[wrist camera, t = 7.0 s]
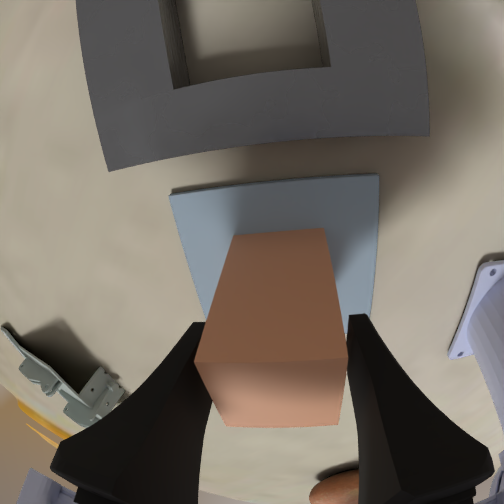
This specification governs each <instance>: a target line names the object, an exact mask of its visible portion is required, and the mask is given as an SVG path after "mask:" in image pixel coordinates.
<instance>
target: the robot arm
mask: <svg viewBox="0 0 504 504" xmlns="http://www.w3.org/2000/svg"><path fill="white" fill-rule="evenodd" d="M491 270H492V271H491ZM490 271H491V272H490ZM205 323H206V322H193V323H192V324H191V326H190V327H189V328H188V330H187V331H186V332H185V333H184V335H183V336H182V337H181V339H180V340H179V341H178V343H177V344H176V345H175V346H174V348H173V349H172V350H171V351H170V353H169V354H168V355H167V356H166V358H165V359H164V360H163V361H162V363H161V364H160V365H159V366H158V367H157V368H156V369H155V371H154V372H153V373H152V374H151V375H150V376H149V377H148V378H147V379H146V381H145V382H144V383H143V384H142V385H141V386H140V387H139V388H138V389H137V390H136V391H135V392H134V393H132V394H131V395H130V396H129V397H128V398H127V399H126V400H125V401H124V402H122V403H121V404H120V405H119V406H117V407H116V408H115V409H114V410H112V411H111V412H110V413H108V414H107V415H106V416H104V417H103V418H102V419H100V420H99V421H97V422H96V423H94V424H92V425H91V426H89V427H88V428H86V429H84V430H83V431H81V432H79V433H77V434H75V435H73V436H71V437H69V438H67V439H65V440H63V441H61V442H60V444H59V446H58V449H57V451H56V454H55V456H54V458H53V461H52V463H51V466H50V469H51V471H53V472H54V473H56V474H57V475H59V476H60V477H62V478H64V479H65V480H67V481H69V482H70V483H72V484H74V485H76V486H78V489H77V492H76V493H75V492H73V491H71V490H69V489H67V488H65V487H63V486H61V485H60V484H59V483H57V482H55V481H54V480H52V479H50V478H48V477H47V476H44V475H43V474H41V473H39V472H38V471H36V470H34V469H33V468H30V469H29V472H28V474H27V477H26V479H25V482H24V484H23V487H22V490H21V493H20V495H19V498H18V500H17V503H16V504H198V488H199V474H200V464H201V455H202V447H203V439H204V434H205V429H206V424H207V421H208V417H209V413H210V409H211V405H212V401H213V400H212V398H211V396H210V394H209V392H208V390H207V388H206V386H205V384H204V382H203V380H202V378H201V376H200V374H199V372H198V370H197V368H196V365H195V363H194V360H195V356H196V353H197V350H198V346H199V343H200V340H201V336H202V333H203V330H204V326H205ZM346 345H347V352H348V364H347V375H348V380H349V386H350V391H351V396H352V402H353V407H354V413H355V418H356V424H357V432H358V451H359V496H358V504H474V503H473V497H474V496H475V495H476V489H475V486H477V485H478V484H480V483H482V482H483V481H485V480H486V479H488V478H489V477H491V476H492V475H493V473H494V472H495V470H494V466H493V461H492V457H491V455H490V452H489V450H488V447H486V446H485V445H483V444H482V443H480V442H479V441H477V440H476V439H474V438H473V437H472V436H470V435H469V434H467V433H466V432H465V431H464V430H462V429H461V428H460V427H459V426H457V425H456V424H455V423H454V422H453V421H451V420H450V419H449V418H448V417H447V416H446V415H445V414H444V413H443V412H441V411H440V410H439V409H438V408H437V407H436V406H435V405H434V404H433V403H432V402H431V401H430V400H429V399H428V398H427V397H426V396H425V395H424V394H423V392H422V391H421V390H420V389H419V388H418V387H417V386H416V385H415V383H414V382H413V381H412V380H411V379H410V377H409V376H408V375H407V374H406V372H405V371H404V370H403V369H402V367H401V366H400V365H399V363H398V362H397V361H396V359H395V358H394V356H393V355H392V353H391V352H390V351H389V349H388V348H387V346H386V345H385V343H384V342H383V340H382V339H381V337H380V336H379V334H378V332H377V331H376V329H375V327H374V326H373V324H372V322H371V321H370V319H369V317H368V315H367V314H365V313H363V314H352V315H349V318H348V330H347V340H346ZM447 355H448V358H449V359H450V360H453V359H457V358H462V357H466V356H470V355H475V358H476V360H477V362H478V364H479V367H480V369H481V372H482V374H483V376H484V379H485V381H486V384H487V386H488V389H489V392H490V394H491V397H492V400H493V403H494V405H495V408H496V411H497V414H498V417H499V420H500V423H501V427H502V430H503V433H504V260H500V261H492V262H486V263H483V264H482V265H481V266H480V267H479V269H478V272H477V275H476V278H475V282H474V285H473V288H472V291H471V294H470V297H469V300H468V303H467V306H466V309H465V311H464V314H463V317H462V320H461V322H460V325H459V327H458V330H457V332H456V335H455V337H454V340H453V342H452V344H451V347H450V349H449V351H448V354H447ZM499 458H500V462H501V466H500V468H499V469H498V471H497V472H496V474H495V476H494V479H493V481H492V485H491V488H490V494H489V498H487V499H484V500H482V501H480V502H478V503H475V504H504V450H503V451H502V452H501V453H499Z"/></svg>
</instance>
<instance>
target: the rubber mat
mask: <svg viewBox="0 0 504 504" xmlns="http://www.w3.org/2000/svg"><path fill="white" fill-rule="evenodd" d="M169 200H170V204H171V207H172V211H173V215H174V218H175V222H176V225H177V229H178V232H179V236H180V239H181V242H182V246H183V249H184V252H185V256H186V259H187V262H188V265H189V269H190V272H191V275H192V278H193V281H194V284H195V288H196V291H197V294H198V297H199V300H200V303H201V306H202V309H203V312H204V315H205V318H206V320H207V317H208V313H209V310H210V307H211V304H212V301H213V297H214V294H215V291H216V288H217V285H218V281H219V278H220V275H221V272H222V269H223V266H224V263H225V259H226V256H227V253H228V250H229V247H230V244H231V241H232V238H233V235H243V234H254V233H266V232H277V231H289V230H301V229H314V228H324V231H325V235H326V240H327V244H328V249H329V253H330V258H331V263H332V268H333V272H334V277H335V283H336V288H337V293H338V298H339V304H340V309H341V315H342V321H343V327H344V333H345V334H347V330H348V318H349V315H352V314H363V313H365V314H367V315H368V317H369V318H370V310H371V303H372V294H373V285H374V275H375V264H376V252H377V237H378V217H379V175H378V174H377V173H374V174H353V175H336V176H321V177H308V178H296V179H285V180H275V181H265V182H255V183H246V184H238V185H230V186H222V187H214V188H207V189H199V190H192V191H186V192H179V193H172V194H170V195H169Z"/></svg>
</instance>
